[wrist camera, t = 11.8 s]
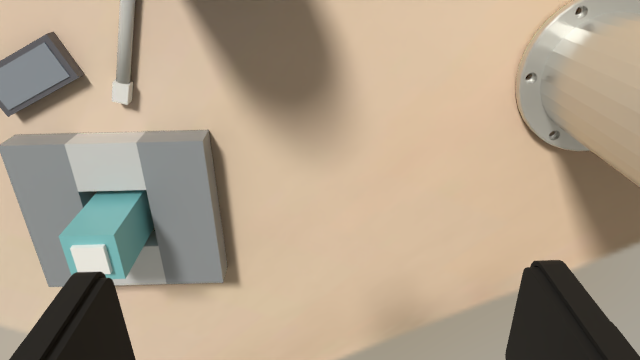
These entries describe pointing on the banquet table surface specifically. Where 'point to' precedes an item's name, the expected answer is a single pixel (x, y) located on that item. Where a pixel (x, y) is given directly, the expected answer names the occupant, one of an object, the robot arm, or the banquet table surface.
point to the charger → (108, 233)
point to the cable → (124, 54)
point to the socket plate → (117, 175)
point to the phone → (35, 73)
